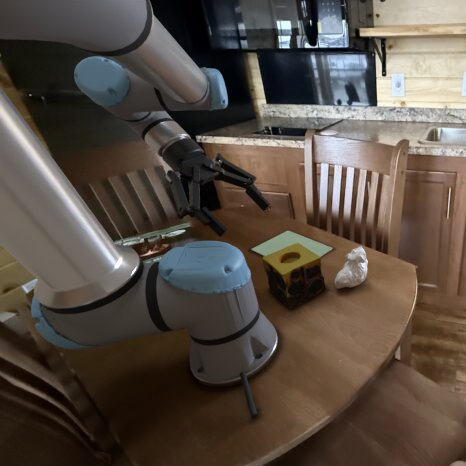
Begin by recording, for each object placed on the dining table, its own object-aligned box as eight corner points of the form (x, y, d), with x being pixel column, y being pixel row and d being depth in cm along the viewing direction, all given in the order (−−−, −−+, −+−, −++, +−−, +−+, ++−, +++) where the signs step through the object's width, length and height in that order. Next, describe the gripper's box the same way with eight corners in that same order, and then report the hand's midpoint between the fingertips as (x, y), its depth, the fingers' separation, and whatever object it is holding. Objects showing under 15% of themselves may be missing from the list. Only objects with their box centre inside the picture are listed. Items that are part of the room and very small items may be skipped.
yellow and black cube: (326, 290, 78) (322, 256, 73) (290, 310, 72) (282, 275, 67) (304, 272, 84) (299, 241, 79) (269, 290, 78) (260, 256, 73)
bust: (341, 302, 78) (363, 281, 71) (320, 280, 78) (340, 257, 71) (367, 276, 87) (389, 255, 80) (348, 256, 87) (368, 234, 80)
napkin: (333, 248, 95) (333, 248, 95) (297, 272, 85) (297, 271, 84) (288, 231, 104) (288, 230, 104) (250, 250, 94) (250, 249, 94)
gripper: (216, 145, 81) (275, 207, 85) (113, 176, 61) (195, 255, 64) (227, 126, 77) (288, 191, 81) (120, 151, 57) (207, 237, 60)
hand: (247, 219), depth 72 cm, fingers open, 13 cm apart
